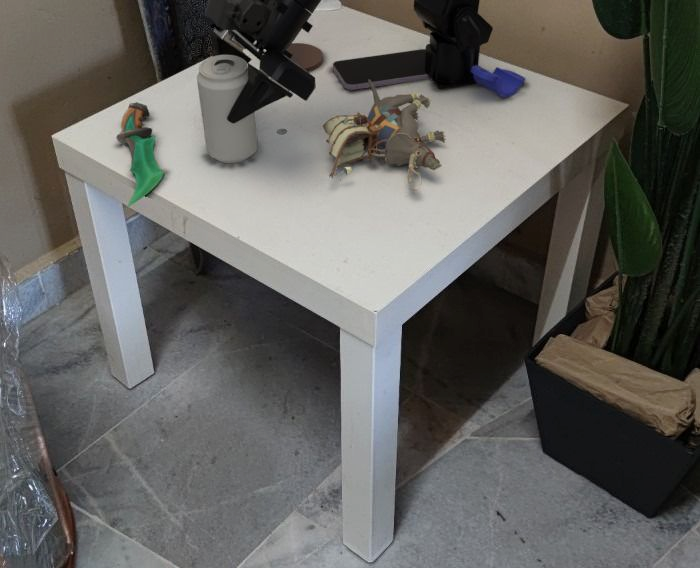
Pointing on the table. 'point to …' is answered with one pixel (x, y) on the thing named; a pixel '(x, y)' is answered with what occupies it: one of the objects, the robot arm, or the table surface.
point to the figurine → (384, 135)
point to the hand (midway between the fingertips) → (217, 109)
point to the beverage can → (225, 109)
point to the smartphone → (381, 69)
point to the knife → (140, 150)
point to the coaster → (306, 55)
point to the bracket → (498, 80)
